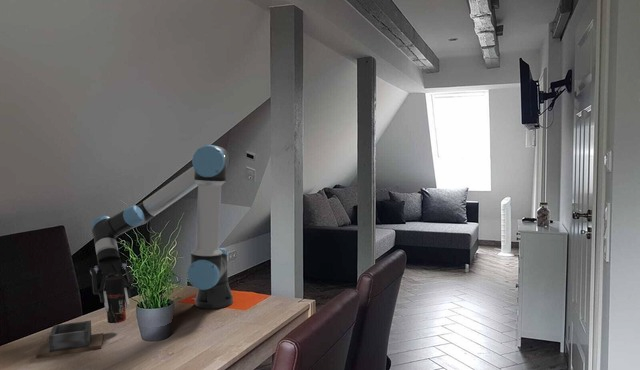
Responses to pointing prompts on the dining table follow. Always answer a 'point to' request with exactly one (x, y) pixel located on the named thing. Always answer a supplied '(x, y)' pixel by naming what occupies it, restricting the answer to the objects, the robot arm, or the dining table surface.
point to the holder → (70, 339)
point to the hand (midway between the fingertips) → (117, 307)
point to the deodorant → (115, 299)
